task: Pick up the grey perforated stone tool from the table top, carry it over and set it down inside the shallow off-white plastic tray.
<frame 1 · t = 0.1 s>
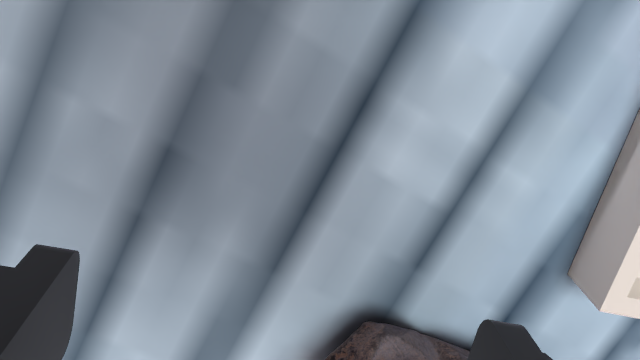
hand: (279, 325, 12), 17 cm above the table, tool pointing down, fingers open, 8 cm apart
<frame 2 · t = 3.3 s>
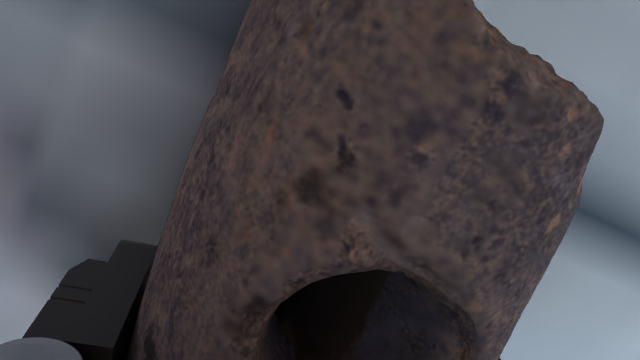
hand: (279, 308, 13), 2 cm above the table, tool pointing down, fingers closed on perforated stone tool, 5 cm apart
perforated stone tool: (274, 268, 14), on the table, touching gripper
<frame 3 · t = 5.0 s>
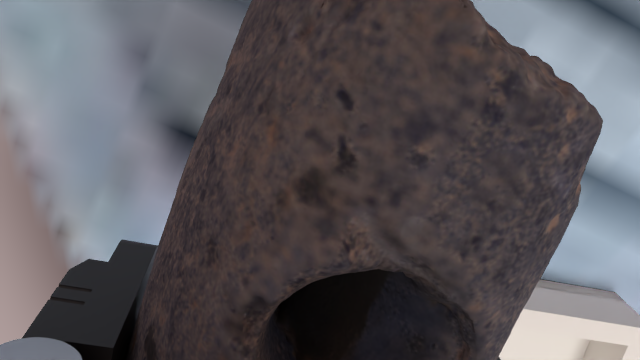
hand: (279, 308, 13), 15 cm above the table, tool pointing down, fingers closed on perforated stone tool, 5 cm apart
perforated stone tool: (274, 267, 14), point 13 cm above the table, touching gripper
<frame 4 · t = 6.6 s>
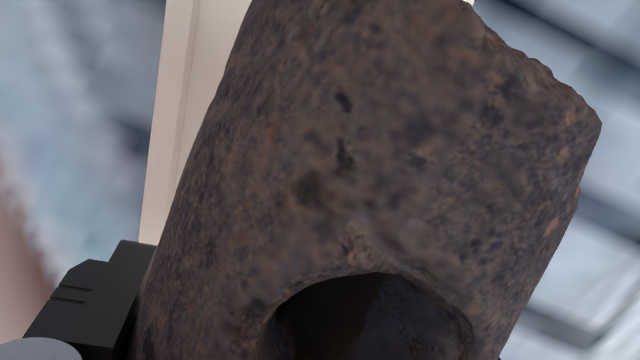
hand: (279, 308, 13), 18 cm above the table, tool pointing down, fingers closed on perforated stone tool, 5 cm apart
perforated stone tool: (273, 268, 14), point 16 cm above the table, touching gripper
tray: (292, 127, 29), on the table
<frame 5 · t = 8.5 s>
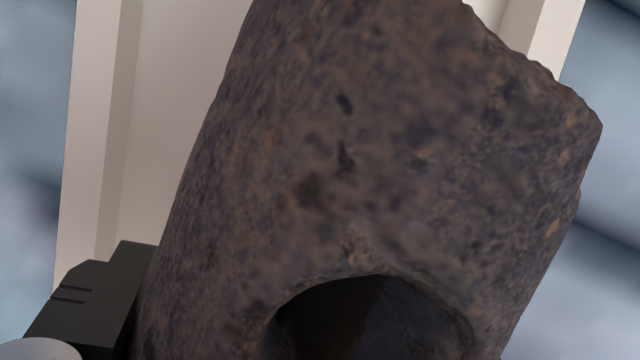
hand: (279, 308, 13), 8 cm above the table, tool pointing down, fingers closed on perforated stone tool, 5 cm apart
perforated stone tool: (273, 269, 14), point 6 cm above the table, touching gripper
tray: (286, 185, 20), on the table
when the fingers open (4 cm above the table, at t = 10.1 s): perforated stone tool drops 2 cm, resting on tray.
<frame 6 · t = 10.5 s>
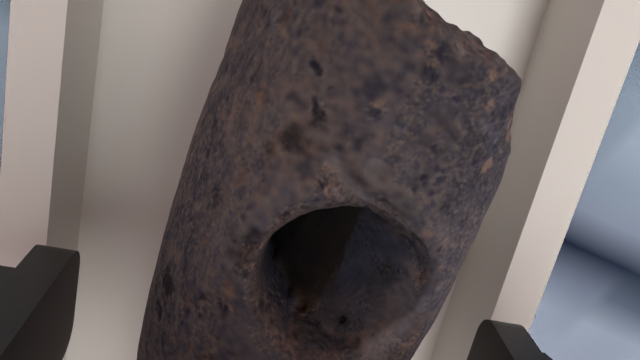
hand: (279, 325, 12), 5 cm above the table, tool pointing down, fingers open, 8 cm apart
perforated stone tool: (273, 234, 16), point 1 cm above the table, touching tray
tray: (278, 223, 17), on the table
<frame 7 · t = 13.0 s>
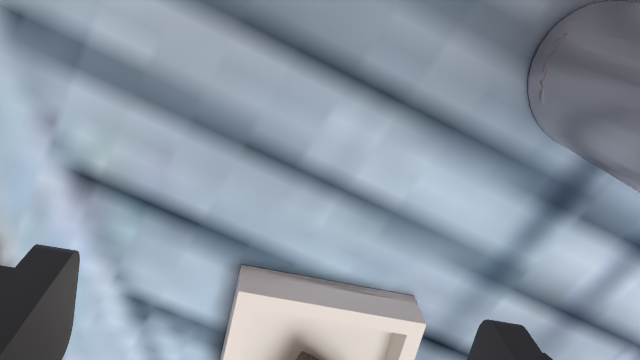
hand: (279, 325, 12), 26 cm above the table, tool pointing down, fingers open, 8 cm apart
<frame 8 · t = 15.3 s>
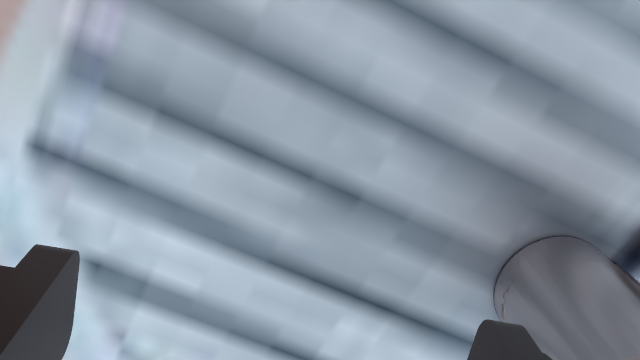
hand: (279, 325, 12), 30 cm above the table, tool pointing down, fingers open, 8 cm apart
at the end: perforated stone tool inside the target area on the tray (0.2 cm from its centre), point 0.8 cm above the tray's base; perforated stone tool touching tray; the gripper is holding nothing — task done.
